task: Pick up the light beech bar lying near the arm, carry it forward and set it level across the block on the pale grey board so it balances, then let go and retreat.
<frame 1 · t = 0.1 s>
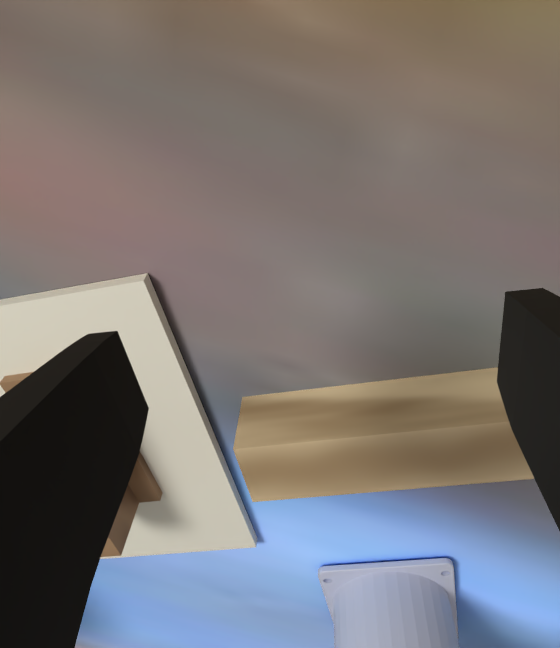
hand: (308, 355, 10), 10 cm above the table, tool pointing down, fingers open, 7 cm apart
block: (90, 439, 25), resting on board
bar: (417, 401, 24), on the table
board: (84, 445, 26), on the table
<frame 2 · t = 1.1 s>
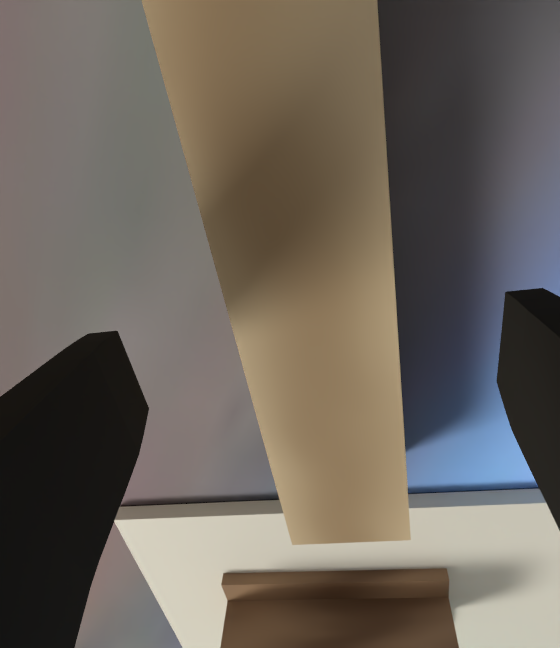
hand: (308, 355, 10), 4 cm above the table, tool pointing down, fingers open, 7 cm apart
block: (336, 599, 22), resting on board
bar: (314, 247, 14), on the table
board: (361, 597, 23), on the table
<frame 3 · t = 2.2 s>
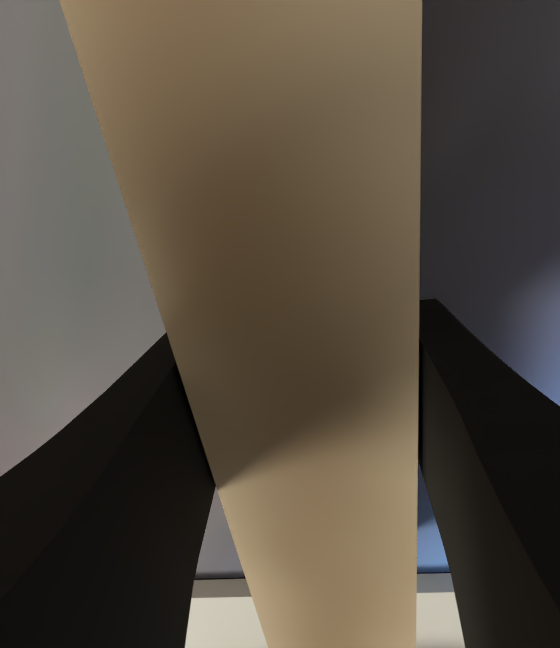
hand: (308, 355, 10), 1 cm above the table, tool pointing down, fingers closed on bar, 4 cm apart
bar: (309, 311, 11), on the table, touching gripper
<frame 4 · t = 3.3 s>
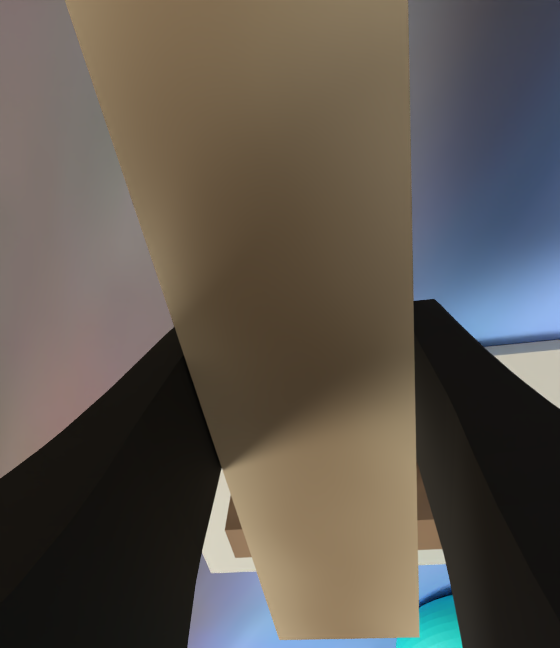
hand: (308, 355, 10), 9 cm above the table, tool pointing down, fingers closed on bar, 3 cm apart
block: (333, 471, 24), resting on board
bar: (308, 295, 11), point 7 cm above the table, touching gripper
board: (356, 473, 25), on the table
donuts: (473, 621, 32), on the table
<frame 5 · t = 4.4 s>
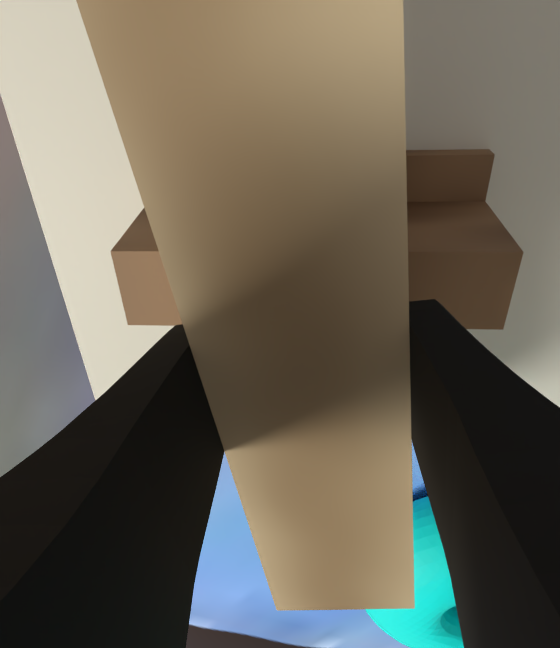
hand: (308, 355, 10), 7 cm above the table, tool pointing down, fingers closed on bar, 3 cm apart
block: (312, 229, 15), resting on board
bar: (306, 269, 11), point 4 cm above the table, touching gripper, block
board: (345, 252, 16), on the table
donuts: (460, 541, 24), on the table
when the fingers open (6 cm above the table, at t = 4.7 s): bar stays where it is, resting on block.
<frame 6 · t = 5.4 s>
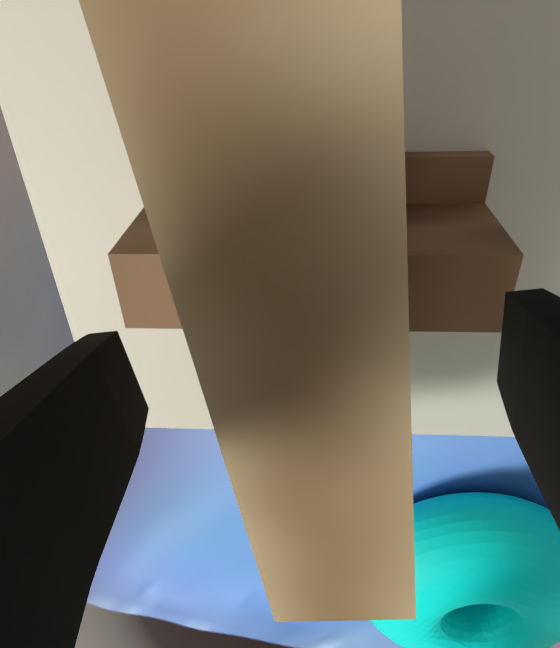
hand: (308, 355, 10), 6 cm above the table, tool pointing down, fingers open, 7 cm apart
block: (311, 231, 14), resting on board
bar: (305, 270, 11), point 4 cm above the table, touching block
board: (344, 254, 15), on the table
donuts: (460, 544, 24), on the table
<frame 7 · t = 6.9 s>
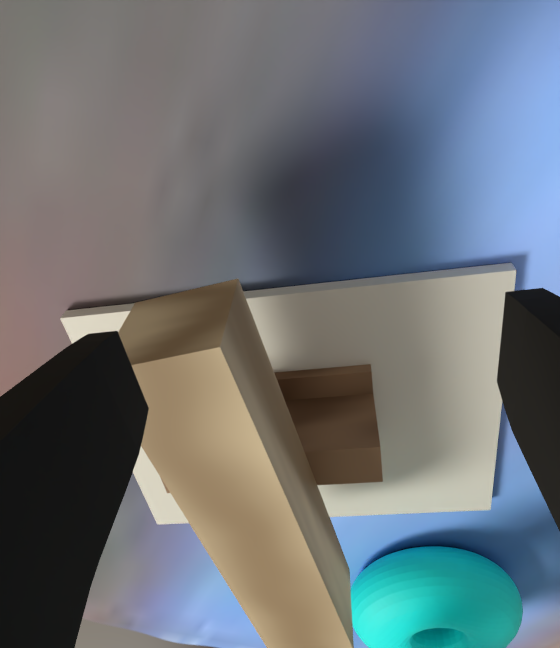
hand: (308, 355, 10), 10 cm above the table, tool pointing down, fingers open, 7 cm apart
block: (273, 410, 23), resting on board
bar: (262, 461, 20), point 4 cm above the table, touching block
board: (299, 415, 24), on the table
donuts: (427, 580, 32), on the table
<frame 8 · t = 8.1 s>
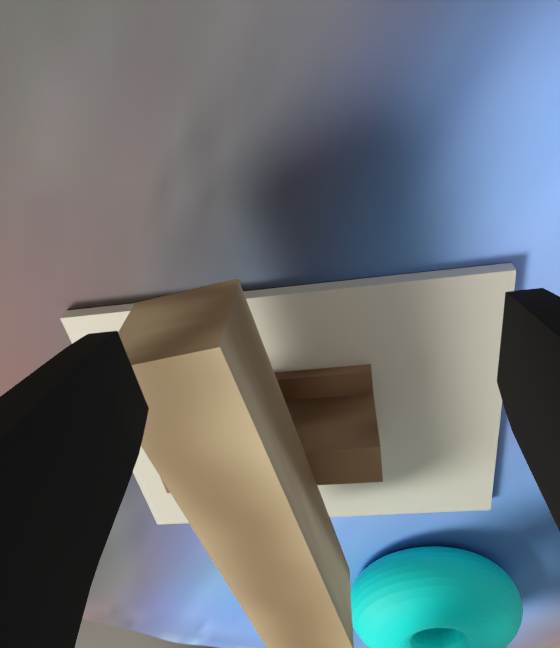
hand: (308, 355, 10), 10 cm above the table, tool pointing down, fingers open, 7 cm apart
block: (273, 410, 23), resting on board
bar: (262, 461, 20), point 4 cm above the table, touching block
board: (299, 415, 24), on the table
donuts: (427, 580, 32), on the table
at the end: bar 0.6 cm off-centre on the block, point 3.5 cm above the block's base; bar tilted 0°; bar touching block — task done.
